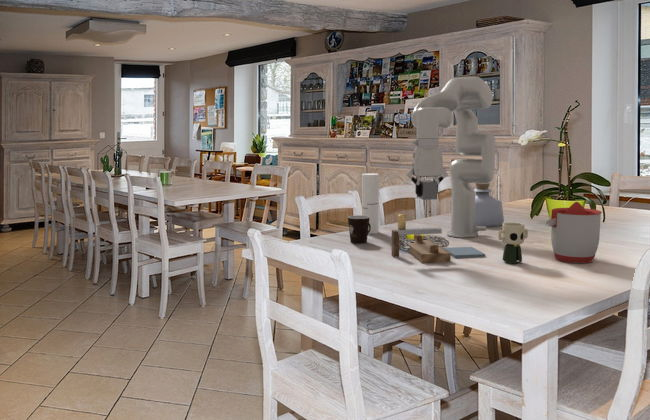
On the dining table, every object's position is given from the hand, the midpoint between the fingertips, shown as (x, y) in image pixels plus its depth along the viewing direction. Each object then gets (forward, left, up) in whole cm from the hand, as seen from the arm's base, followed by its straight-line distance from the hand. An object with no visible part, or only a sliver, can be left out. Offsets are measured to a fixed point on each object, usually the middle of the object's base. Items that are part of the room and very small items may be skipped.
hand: (426, 195), depth 215 cm
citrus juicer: (-46, +16, -22) cm, 53 cm away
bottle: (-45, -61, -22) cm, 79 cm away
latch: (+5, +9, -12) cm, 15 cm away
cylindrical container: (+10, -48, -21) cm, 54 cm away
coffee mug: (+19, -26, -22) cm, 39 cm away
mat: (-14, 0, -21) cm, 25 cm away
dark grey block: (0, 0, -1) cm, 1 cm away
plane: (+4, 0, -21) cm, 22 cm away
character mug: (-25, +16, -22) cm, 37 cm away
